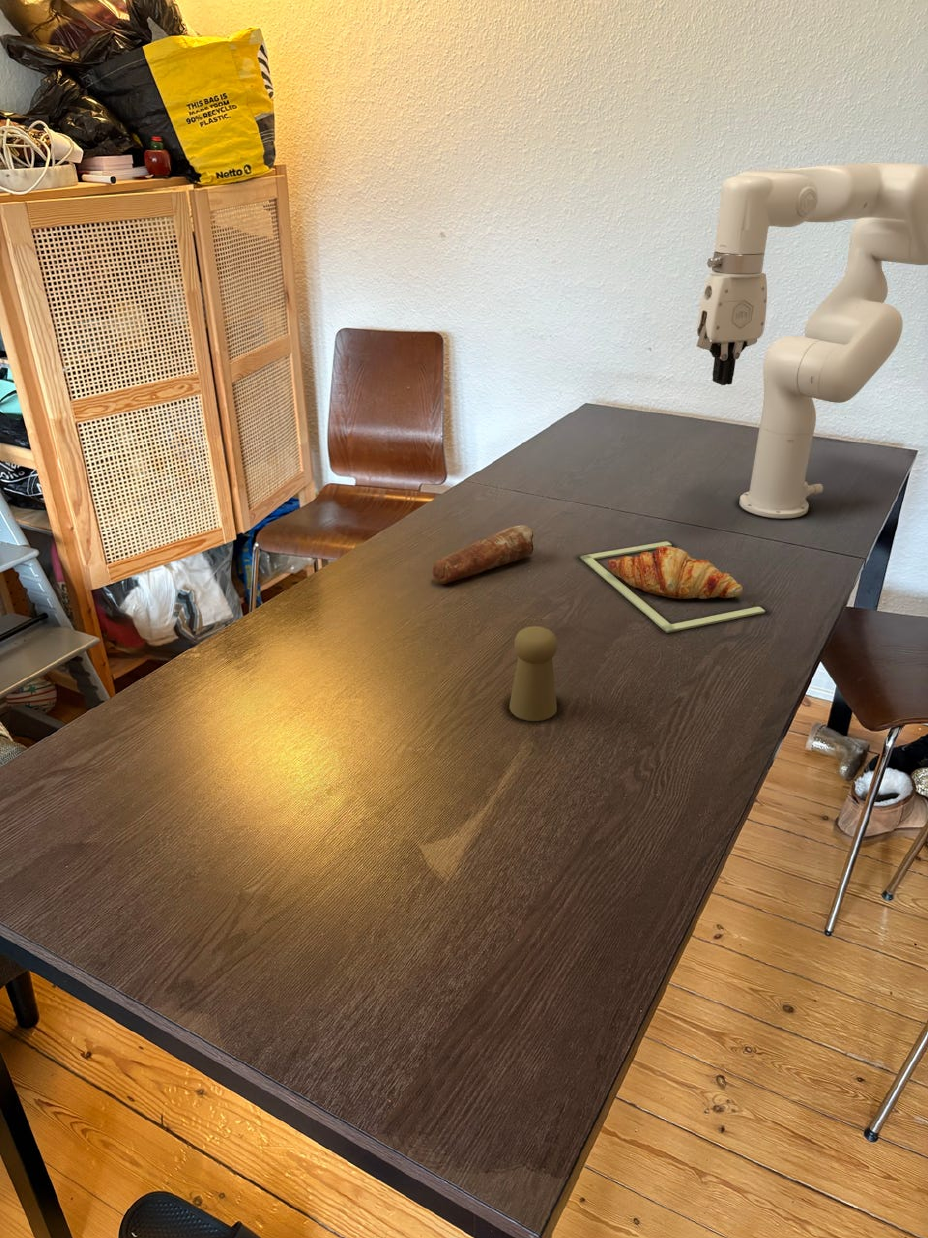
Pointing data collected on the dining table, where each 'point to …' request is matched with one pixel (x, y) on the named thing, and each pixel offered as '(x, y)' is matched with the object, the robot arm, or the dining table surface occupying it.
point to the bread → (485, 554)
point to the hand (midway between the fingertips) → (721, 382)
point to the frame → (647, 609)
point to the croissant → (674, 575)
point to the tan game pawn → (534, 675)
